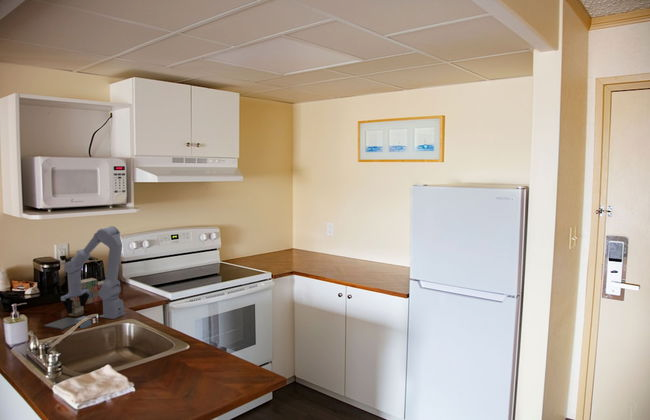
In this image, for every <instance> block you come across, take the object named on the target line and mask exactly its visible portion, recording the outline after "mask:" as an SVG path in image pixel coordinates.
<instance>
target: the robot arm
mask: <svg viewBox="0 0 650 420" xmlns="http://www.w3.org/2000/svg"><path fill="white" fill-rule="evenodd" d="M120 234H121V231H120V230H119V229H118V228H117V227H115V226H109V227H105V228H99V229H98V230H97V231H96V232H95V233H94V234H93V236H92V238H91V239H90V240H89V242H88V243H87V244H86V246H85V247H84V248H83V249H79V250H77V251H76V254H75V255H74V256H73V257H72V258H70V261H67V262H66V263H65V264H64V265H63V266H64V267H63V268H64V271H65V273H66V274H67V287H68V292H67V293H66V294H65V295H61V296H60V301H61V303H62V305H63V306H64V307H65V310H66V312H67V314H68V315H69V314H71V313H72V307H73V305H72V302H73V300H70V298H74V297H77V296H78V297H79V300H80V306H83V309H84V310H85V309H86V306H87V304H86V302H87V299H88V297H89V294H88V293H89V290H88V289H85V290H82V289H81V280H82V275H81V274H82V269H83V268H84V264H85V263H86V262H88V260H89V259H90V258H91V252H93V251H94V249H96V248H97V246H98V245H100V244H104V245H105V246H106V247H108V248H109V251H108V259H107V264H106V265H107V266H106V272H105V279H104V280H103V281H104V282H103V284H102V287H101V289H100V290H99V296H100V297H101V298H102V300H101V301H102V314H101V315H99V316H98V317H99V318H103V319H104V318H105V319H111V320H115V319H117V318H120V317H122V316H125V315H126V314H127V313H125V302H124V300H123V299H121V298H120V293H121V291H122V288H121V281H120V280H119V278H118V277H119V273H120V272H119V271H120V263H121V258H122V257H121V256H122V250H123V249H122V248H123V242H122V239H121V235H120Z"/></svg>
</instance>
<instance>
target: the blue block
mask: <svg viewBox="0 0 650 420" xmlns="http://www.w3.org/2000/svg"><path fill="white" fill-rule="evenodd" d="M85 317H87V316H86V315H83V316H80V317H77V318H75V320H76V324H77V323H78V322H79V321H81V320H82V319H83V318H85ZM91 326H92V318H91V319H90V320H87V321H86V322H84V323H83V324H81V325H80V328H79V329H85V328H88V327H91Z"/></svg>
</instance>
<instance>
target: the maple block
mask: <svg viewBox="0 0 650 420" xmlns="http://www.w3.org/2000/svg"><path fill="white" fill-rule="evenodd" d="M84 311H85V309H83V306H79V305H76V306H74V305H72V313H71V314H69V313H68V315H69V316H70V317H71V316H72V317H78V316H81V315H84V314H85V312H84Z"/></svg>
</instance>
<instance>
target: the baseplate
mask: <svg viewBox="0 0 650 420" xmlns="http://www.w3.org/2000/svg"><path fill="white" fill-rule="evenodd" d="M75 319H76V318H74V317H65V318H61V319H58V320H55V321H51V322H50V323H47V324H44V326H43V327H45V328H51V329H55V330H56V329H57V330H66V329H69V328H71V327H74V326H76V325H75V324H76V320H75Z"/></svg>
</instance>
